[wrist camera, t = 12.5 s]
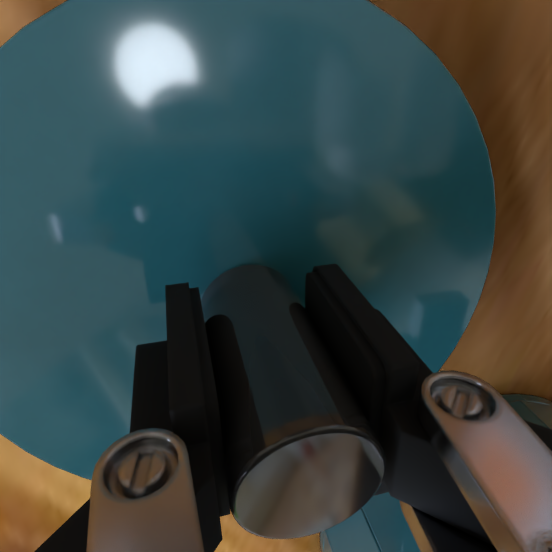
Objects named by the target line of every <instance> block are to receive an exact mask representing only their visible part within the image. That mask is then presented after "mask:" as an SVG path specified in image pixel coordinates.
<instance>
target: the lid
mask: <svg viewBox="0 0 552 552" xmlns="http://www.w3.org/2000/svg"><path fill="white" fill-rule="evenodd" d="M495 221H496V203H495V186H494V178H493V173H492V168H491V163H490V158H489V153H488V148H487V146H486V143H485V140H484V137H483V134H482V132H481V129H480V126H479V123H478V120H477V118H476V115H475V114H474V112H473V110H472V108H471V106H470V104H469V102H468V101H467V99H466V97H465V95H464V93H463V91H462V90H461V88H460V86H459V84H458V83H457V82H456V80H455V79H454V78H453V76H452V75H451V74H450V72H449V71H448V70H447V68H446V67H445V66H444V65H443V63H442V62H441V61H440V59H439V58H438V57H437V55H436V54H435V53H434V52H433V51H432V50H431V49H430V48H429V47H428V46H427V45H426V44H425V43H423V42H422V41H421V40H420V39H419V38H418V37H417V36H416V35H415V34H414V33H413V32H412V31H411V30H410V29H409V28H408V27H407V26H406V25H404V24H403V23H401V22H400V21H398V20H397V19H395V18H394V17H392V16H391V15H389V14H388V13H386V12H385V11H384V10H382V9H381V8H379V7H378V6H376V5H375V4H373V3H372V2H370V1H369V0H67V1H65V2H63V3H62V4H60V5H58V6H57V7H55V8H53V9H52V10H50V11H48V12H47V13H45V14H44V15H42V16H40V17H39V18H37V19H35V20H34V21H32V22H30V23H29V24H27V25H26V26H24V27H23V28H21V29H20V30H19V31H18V32H17V33H16V34H15V35H13V36H12V37H11V38H10V39H9V40H8V41H7V42H5V43H4V44H3V45H2V46H1V47H0V434H1V435H3V436H4V437H6V438H7V439H8V440H10V441H11V442H13V443H14V444H16V445H17V446H19V447H20V448H22V449H23V450H24V451H26V452H28V453H30V454H32V455H33V456H35V457H37V458H39V459H41V460H43V461H45V462H47V463H49V464H51V465H53V466H54V467H57V468H59V469H62V470H65V471H67V472H70V473H72V474H75V475H78V476H80V477H83V478H86V479H89V480H92V475H93V472H94V468H95V465H96V463H97V461H98V460H99V458H100V456H101V455H102V453H103V452H104V451H105V450H106V449H107V448H108V447H109V446H110V445H111V444H112V443H113V442H115V441H117V440H118V439H120V438H121V437H123V436H125V435H126V434H129V433H130V421H131V408H132V394H133V380H134V367H135V353H136V346H137V345H140V344H147V343H153V342H160V341H166V340H167V328H166V297H165V285H172V284H180V283H187V282H189V288H195V287H199V293H200V298H201V304H202V310H203V316H204V321H205V327H206V333H207V339H208V345H209V350H210V356H211V362H212V368H213V373H214V379H215V385H216V391H217V397H218V404H219V412H220V421H221V430H222V440H223V449H224V474H225V481H226V487H227V493H228V500H229V505H230V510H231V512H232V515H233V517H234V518H235V520H236V521H237V522H238V524H239V525H240V526H241V527H242V528H244V529H245V530H246V531H248V532H250V533H252V534H254V535H257V536H260V537H264V538H270V539H293V538H300V537H305V536H309V535H313V534H316V533H319V532H322V531H324V530H327V529H329V528H331V527H333V526H336V525H338V524H339V523H341V522H343V521H345V520H346V519H348V518H349V517H351V516H352V515H354V514H355V513H356V512H358V511H359V510H360V509H361V508H362V507H363V506H364V505H366V504H367V503H368V501H369V500H370V499H371V498H372V497H373V496H374V494H375V493H376V492H377V490H378V489H379V487H380V485H381V483H382V481H383V479H384V476H385V472H386V454H385V451H384V448H383V446H382V444H381V442H380V440H379V439H378V437H377V435H376V433H375V431H374V430H373V428H372V426H371V424H370V423H369V421H368V419H367V417H366V416H365V414H364V412H363V410H362V409H361V407H360V405H359V403H358V402H357V400H356V398H355V396H354V395H353V393H352V391H351V389H350V388H349V386H348V384H347V382H346V381H345V379H344V377H343V375H342V374H341V372H340V370H339V368H338V366H337V365H336V363H335V361H334V359H333V358H332V356H331V354H330V352H329V351H328V349H327V347H326V345H325V344H324V342H323V340H322V338H321V337H320V335H319V333H318V331H317V330H316V328H315V326H314V324H313V323H312V321H311V319H310V317H309V316H308V314H307V312H306V310H305V279H306V274H307V273H310V272H312V270H313V267H314V266H320V265H328V264H337V265H338V266H339V267H340V268H341V269H342V271H343V272H344V273H345V274H346V275H347V277H348V278H349V279H350V280H351V281H352V282H353V284H354V285H355V286H356V287H357V288H358V290H359V291H360V292H361V293H362V294H363V296H364V297H365V298H366V299H367V300H368V302H369V303H370V304H371V305H372V306H373V308H374V309H378V310H379V311H380V312H381V313H382V314H383V315H384V316H385V317H386V318H387V320H388V321H389V322H390V323H391V324H392V325H393V327H394V328H395V329H396V330H397V331H398V332H399V334H400V335H401V336H402V337H403V338H404V339H405V341H406V342H407V343H408V344H409V345H410V347H411V348H412V349H413V350H414V351H415V352H416V354H417V355H418V356H419V357H420V358H421V359H422V361H423V362H424V363H425V364H426V365H427V366H428V368H429V369H430V370H431V371H432V372H433V373H436V372H438V371H439V370H440V369H441V367H442V366H443V364H444V363H445V361H446V360H447V359H448V357H449V356H450V354H451V353H452V352H453V350H454V349H455V347H456V345H457V344H458V342H459V340H460V338H461V337H462V335H463V333H464V331H465V330H466V328H467V326H468V324H469V322H470V320H471V317H472V315H473V313H474V311H475V308H476V306H477V304H478V302H479V299H480V296H481V293H482V290H483V287H484V284H485V281H486V277H487V274H488V271H489V266H490V261H491V255H492V250H493V245H494V235H495Z"/></svg>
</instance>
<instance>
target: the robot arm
mask: <svg viewBox="0 0 552 552" xmlns="http://www.w3.org/2000/svg"><path fill="white" fill-rule="evenodd" d="M165 297H166V328H167V340H166V341H160V342H153V343H147V344H140V345H137V346H136V353H135V367H134V380H133V394H132V408H131V421H130V433H129V434H126V435H125V436H123V437H121V438H120V439H118V440H117V441H115V442H113V443H112V444H111V445H110V446H109V447H108V448H107V449H106V450H105V451H104V452H103V453H102V455H101V456H100V458H99V460H98V461H97V463H96V465H95V468H94V472H93V475H92V483H91V496H90V499H89V500H88V501H87V502H86V503H85V504H84V505H83V506H82V507H81V508H80V509H78V510H77V511H76V512H75V513H74V514H73V515H72V516H71V517H70V518H69V519H68V520H67V521H66V522H65V523H64V524H63V525H62V526H61V527H60V528H59V529H58V530H57V531H55V532H54V533H53V534H52V535H51V536H50V537H49V538H48V539H47V540H46V541H45V542H44V543H43V544H42V545H41V546H40V547H39V548H38V549H37V550H36V551H35V552H214V551H215V549H216V548H217V546H218V545H219V543H220V542H221V541H222V532H221V524H220V516H224V515H228V514H230V505H229V500H228V493H227V487H226V481H225V474H224V449H223V440H222V430H221V421H220V412H219V404H218V397H217V391H216V385H215V379H214V373H213V368H212V362H211V356H210V350H209V345H208V339H207V333H206V327H205V321H204V316H203V310H202V304H201V298H200V293H199V287H195V288H189V282H187V283H180V284H172V285H165ZM305 310H306V312H307V314H308V316H309V317H310V319H311V321H312V323H313V324H314V326H315V328H316V330H317V331H318V333H319V335H320V337H321V338H322V340H323V342H324V344H325V345H326V347H327V349H328V351H329V352H330V354H331V356H332V358H333V359H334V361H335V363H336V365H337V366H338V368H339V370H340V372H341V374H342V375H343V377H344V379H345V381H346V382H347V384H348V386H349V388H350V389H351V391H352V393H353V395H354V396H355V398H356V400H357V402H358V403H359V405H360V407H361V409H362V410H363V412H364V414H365V416H366V417H367V419H368V421H369V423H370V424H371V426H372V428H373V430H374V431H375V433H376V435H377V437H378V439H379V440H380V442H381V444H382V446H383V448H384V451H385V454H386V472H385V476H384V479H383V481H382V483H381V485H380V487H379V489H378V490H377V492H376V493H375V494H374V496H375V495H379V494H383V493H387V492H389V494H390V496H392V497H394V498H396V499H398V500H400V506H401V509H402V512H403V514H404V517H405V519H406V521H407V523H408V525H409V527H410V530H411V532H412V534H413V536H414V538H415V541H416V543H417V545H418V547H419V549H420V551H421V552H552V430H551V429H549V428H546V427H543V426H540V425H537V424H534V423H531V422H528V421H526V420H523V419H522V418H521V417H520V416H519V414H518V413H517V412H516V411H515V410H514V409H513V408H512V407H511V406H510V404H509V403H508V402H507V401H506V400H505V399H504V398H503V397H502V396H501V394H500V393H499V392H498V391H497V390H496V389H494V388H493V387H492V386H491V385H490V384H489V383H487V382H485V381H484V380H482V379H480V378H478V377H476V376H473V375H470V374H468V373H464V372H459V371H439V372H436V373H433V372H432V371H431V370H430V369H429V368H428V366H427V365H426V364H425V363H424V362H423V361H422V359H421V358H420V357H419V356H418V355H417V354H416V352H415V351H414V350H413V349H412V348H411V347H410V345H409V344H408V343H407V342H406V341H405V339H404V338H403V337H402V336H401V335H400V334H399V332H398V331H397V330H396V329H395V328H394V327H393V325H392V324H391V323H390V322H389V321H388V320H387V318H386V317H385V316H384V315H383V314H382V313H381V312H380V311H379V310H378V309H374V308H373V306H372V305H371V304H370V303H369V302H368V300H367V299H366V298H365V297H364V296H363V294H362V293H361V292H360V291H359V290H358V288H357V287H356V286H355V285H354V284H353V282H352V281H351V280H350V279H349V278H348V277H347V275H346V274H345V273H344V272H343V271H342V269H341V268H340V267H339V266H338V265H337V264H328V265H320V266H314V267H313V270H312V272H310V273H307V274H306V279H305Z"/></svg>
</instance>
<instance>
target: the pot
mask: <svg viewBox="0 0 552 552" xmlns="http://www.w3.org/2000/svg"><path fill="white" fill-rule="evenodd" d="M501 396H502V397H503V398H504V399H505V400H506V401H507V402H508V403H509V404H510V406H511V407H512V408H513V409H514V410H515V411H516V412H517V413H518V414H519V416H520V417H521V418H522V419H523V420H526V421H528V422H531V423H534V424H537V425H540V426H543V427H546V428H549V429H551V430H552V401H550V400H547V399H545V398H541V397H537V396H533V395H523V394H507V395H501ZM320 548H321V552H421V551H420V549H419V547H418V545H417V543H416V541H415V538H414V536H413V534H412V532H411V530H410V527H409V525H408V523H407V521H406V519H405V517H404V514H403V512H402V509H401V506H400V500H398V499H396V498H394V497H392V496H390V494H389V492H387V493H383V494H379V495H375V496H373V497H372V498H371V499H370V500H369V501H368V503H367V504H366V505H364V506H363V507H362V508H361V509H360V510H359V511H358V512H356V513H355V514H354V515H352V516H351V517H349V518H348V519H346V520H345V521H343V522H341V523H339V524H338V525H336V526H333V527H331V528H329V529H327V530H324V531H322V532H321V533H320Z"/></svg>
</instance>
